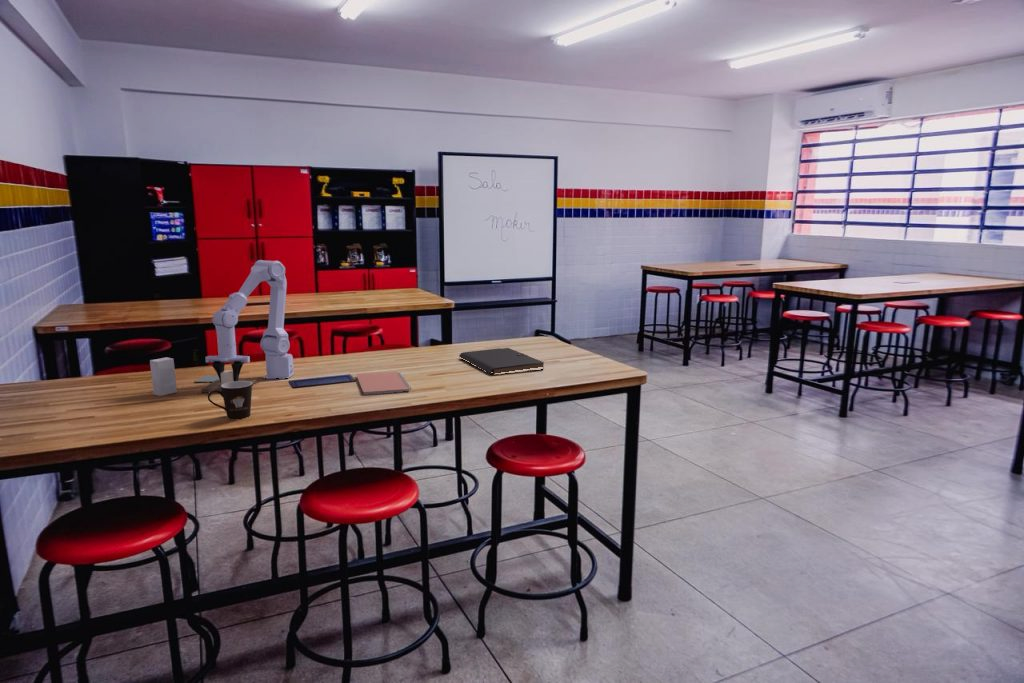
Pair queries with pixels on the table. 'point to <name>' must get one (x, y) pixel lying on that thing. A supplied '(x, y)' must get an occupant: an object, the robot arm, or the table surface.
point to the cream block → (227, 377)
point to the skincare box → (163, 376)
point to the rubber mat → (207, 379)
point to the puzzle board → (219, 385)
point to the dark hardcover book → (501, 360)
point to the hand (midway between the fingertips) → (229, 382)
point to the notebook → (382, 383)
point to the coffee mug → (235, 399)
